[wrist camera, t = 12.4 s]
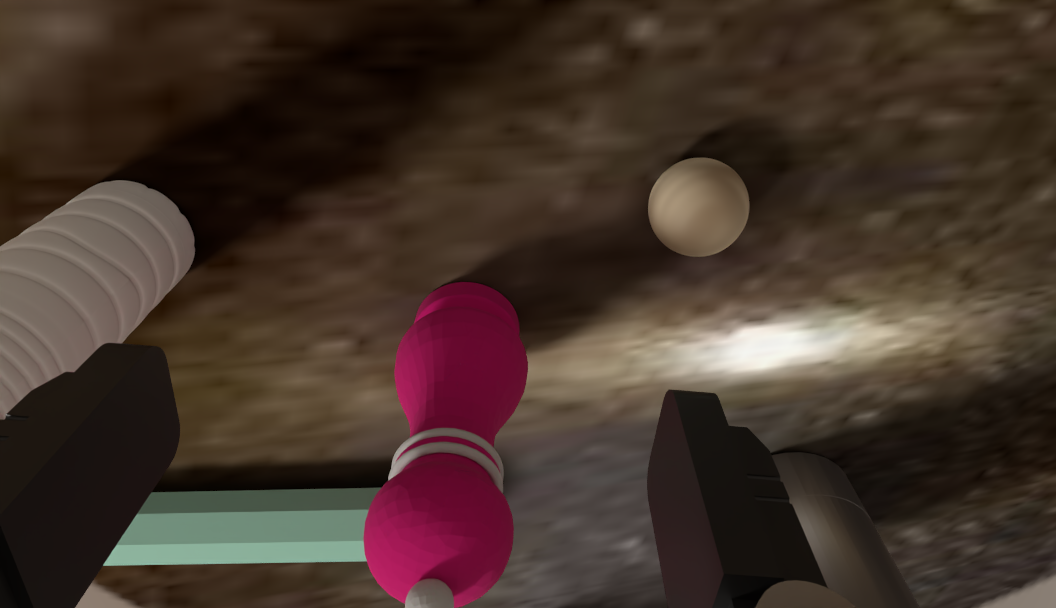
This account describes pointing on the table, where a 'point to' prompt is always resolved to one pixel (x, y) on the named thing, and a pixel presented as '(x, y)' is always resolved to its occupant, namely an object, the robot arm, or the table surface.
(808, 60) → the table surface
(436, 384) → the pepper mill
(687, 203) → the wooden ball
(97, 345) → the water bottle
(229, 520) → the mint green faceted rod
